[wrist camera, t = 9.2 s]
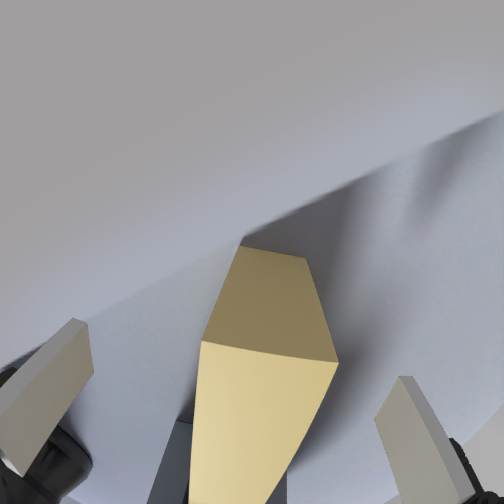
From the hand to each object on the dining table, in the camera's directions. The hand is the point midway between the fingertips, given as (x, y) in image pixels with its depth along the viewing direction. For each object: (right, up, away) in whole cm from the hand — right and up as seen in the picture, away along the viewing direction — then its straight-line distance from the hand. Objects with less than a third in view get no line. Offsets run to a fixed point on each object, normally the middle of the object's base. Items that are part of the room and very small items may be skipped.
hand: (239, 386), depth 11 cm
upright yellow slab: (0, -1, +9) cm, 9 cm away
